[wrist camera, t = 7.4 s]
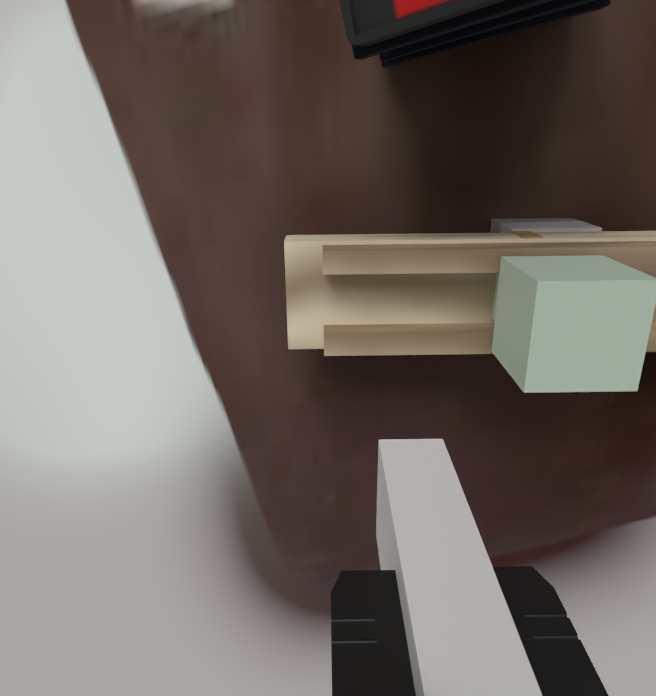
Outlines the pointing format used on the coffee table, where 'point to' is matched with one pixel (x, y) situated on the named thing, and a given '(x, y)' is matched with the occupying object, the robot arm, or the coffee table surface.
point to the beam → (427, 284)
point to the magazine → (444, 23)
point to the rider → (572, 322)
